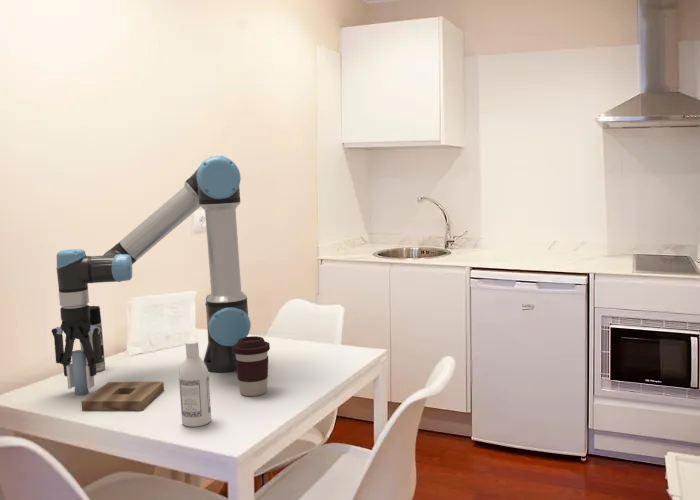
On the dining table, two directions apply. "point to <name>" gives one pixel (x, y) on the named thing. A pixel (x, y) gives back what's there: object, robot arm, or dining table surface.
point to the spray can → (96, 321)
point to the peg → (79, 372)
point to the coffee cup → (252, 365)
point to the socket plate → (123, 396)
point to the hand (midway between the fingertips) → (81, 387)
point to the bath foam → (194, 388)
